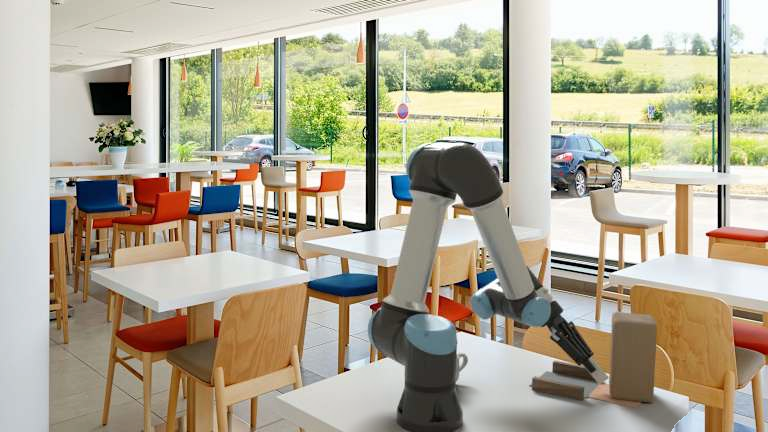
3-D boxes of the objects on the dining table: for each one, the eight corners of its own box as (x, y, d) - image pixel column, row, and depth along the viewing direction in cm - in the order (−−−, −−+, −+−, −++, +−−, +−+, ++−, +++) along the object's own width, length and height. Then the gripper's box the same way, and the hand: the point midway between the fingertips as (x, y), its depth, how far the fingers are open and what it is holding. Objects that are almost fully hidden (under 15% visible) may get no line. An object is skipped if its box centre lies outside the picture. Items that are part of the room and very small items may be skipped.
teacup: (426, 394, 168) (426, 363, 167) (412, 379, 178) (413, 350, 177) (477, 389, 171) (477, 359, 171) (461, 375, 182) (461, 346, 181)
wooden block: (649, 389, 171) (653, 314, 169) (653, 404, 162) (657, 324, 160) (608, 385, 174) (612, 310, 172) (610, 399, 165) (613, 320, 162)
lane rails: (582, 400, 164) (582, 388, 164) (531, 389, 171) (532, 378, 171) (601, 380, 178) (601, 369, 178) (554, 370, 186) (554, 360, 185)
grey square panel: (586, 398, 166) (586, 397, 166) (529, 385, 174) (529, 385, 174) (601, 382, 177) (601, 382, 176) (546, 371, 185) (546, 371, 185)
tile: (637, 408, 160) (637, 407, 160) (587, 397, 167) (587, 396, 167) (647, 393, 169) (647, 393, 169) (600, 384, 176) (600, 383, 176)
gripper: (544, 304, 170) (608, 380, 162) (561, 294, 180) (621, 366, 173) (524, 321, 173) (585, 396, 166) (542, 310, 184) (600, 381, 177)
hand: (604, 381), depth 169 cm, fingers closed
